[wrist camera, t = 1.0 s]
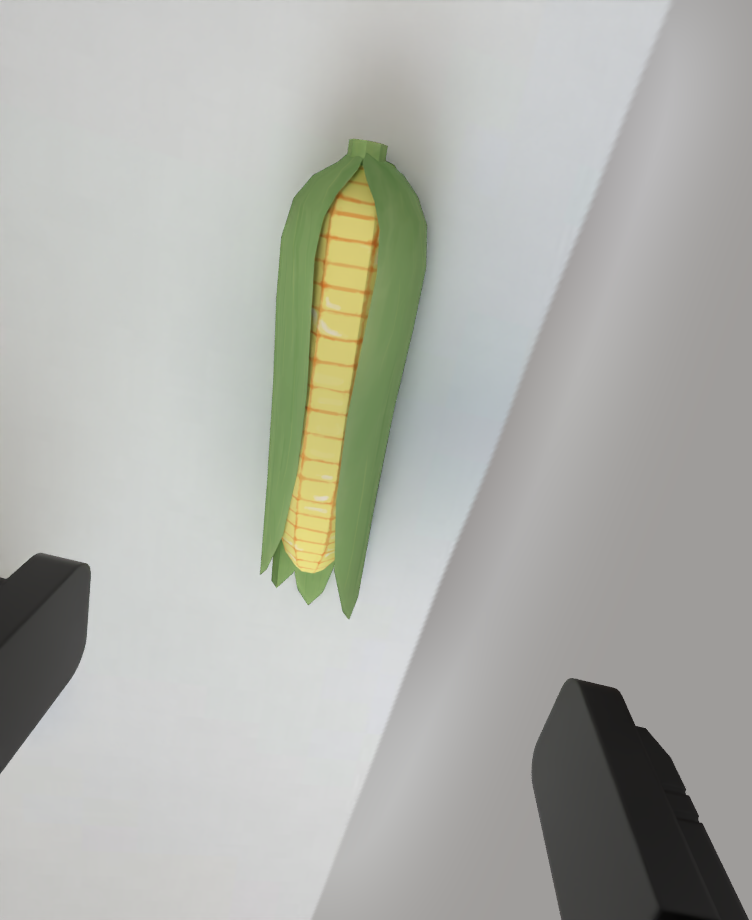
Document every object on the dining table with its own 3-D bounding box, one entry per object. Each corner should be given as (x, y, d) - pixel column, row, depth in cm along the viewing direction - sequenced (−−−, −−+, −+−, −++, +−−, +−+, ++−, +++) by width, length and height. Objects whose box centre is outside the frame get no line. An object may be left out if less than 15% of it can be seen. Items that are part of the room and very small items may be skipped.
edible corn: (444, 162, 22) (450, 150, 18) (361, 608, 30) (352, 674, 25) (305, 138, 22) (278, 120, 18) (258, 590, 30) (232, 653, 25)
